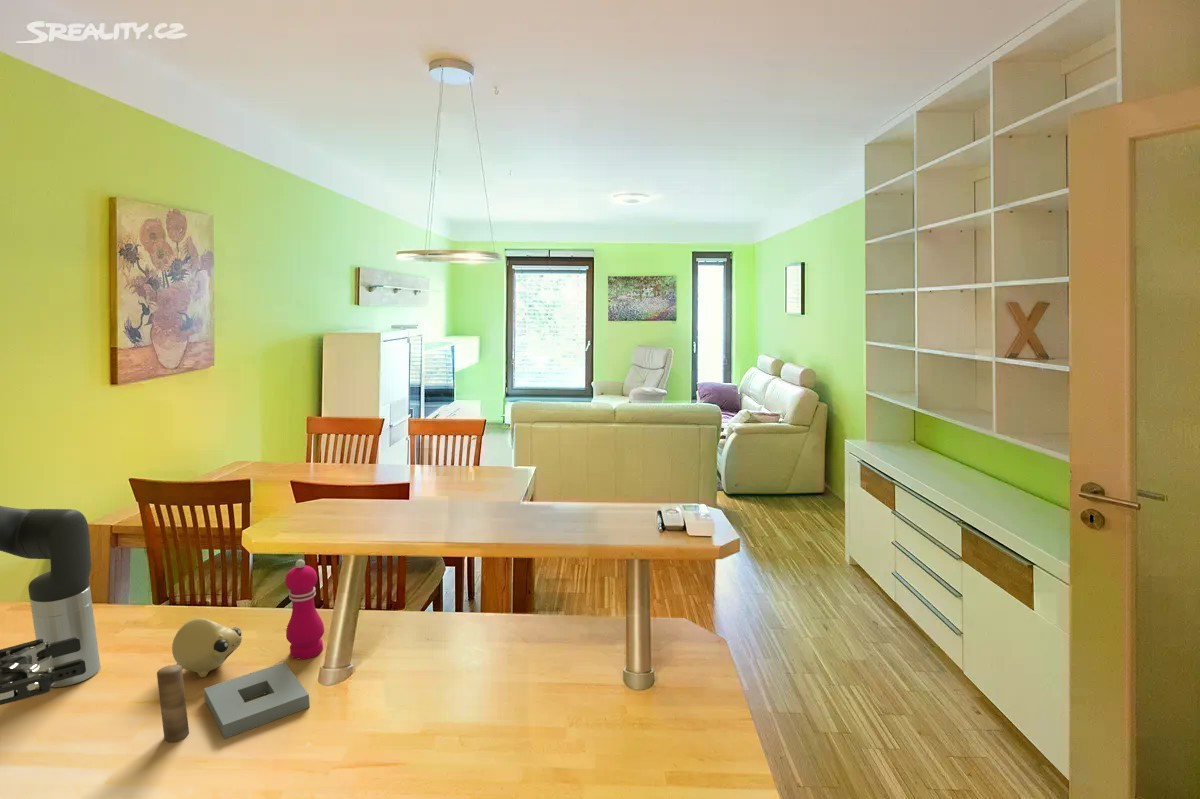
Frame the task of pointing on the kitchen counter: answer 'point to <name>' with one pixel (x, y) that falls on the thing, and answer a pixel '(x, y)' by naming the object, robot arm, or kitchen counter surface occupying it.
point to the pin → (173, 703)
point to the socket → (244, 716)
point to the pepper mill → (303, 613)
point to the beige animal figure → (204, 645)
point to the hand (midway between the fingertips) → (82, 653)
